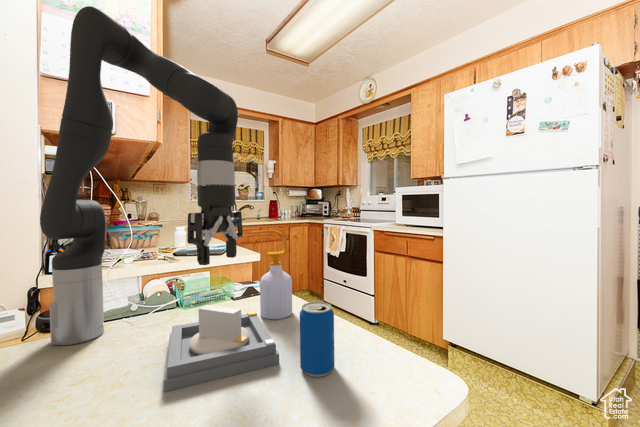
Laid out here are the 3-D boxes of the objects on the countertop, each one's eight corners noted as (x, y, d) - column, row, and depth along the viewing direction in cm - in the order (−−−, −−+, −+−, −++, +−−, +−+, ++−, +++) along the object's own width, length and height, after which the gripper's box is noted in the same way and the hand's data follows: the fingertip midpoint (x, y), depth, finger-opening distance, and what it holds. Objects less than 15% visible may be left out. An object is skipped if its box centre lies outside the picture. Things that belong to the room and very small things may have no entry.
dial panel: (164, 392, 49) (163, 366, 49) (170, 342, 67) (169, 323, 67) (279, 363, 57) (278, 342, 57) (256, 326, 75) (256, 309, 75)
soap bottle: (259, 310, 87) (257, 228, 86) (289, 307, 89) (287, 227, 89) (262, 322, 78) (260, 230, 77) (295, 317, 81) (294, 229, 80)
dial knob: (176, 350, 59) (175, 315, 58) (216, 326, 70) (215, 297, 70) (225, 360, 54) (225, 323, 54) (260, 333, 66) (259, 303, 65)
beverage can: (331, 381, 51) (330, 313, 51) (296, 377, 53) (295, 311, 52) (336, 361, 58) (336, 301, 57) (305, 358, 59) (304, 300, 59)
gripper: (224, 186, 69) (225, 254, 70) (175, 182, 56) (177, 266, 56) (250, 185, 67) (252, 256, 67) (206, 180, 53) (209, 268, 54)
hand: (218, 260), depth 62 cm, fingers open, 8 cm apart
